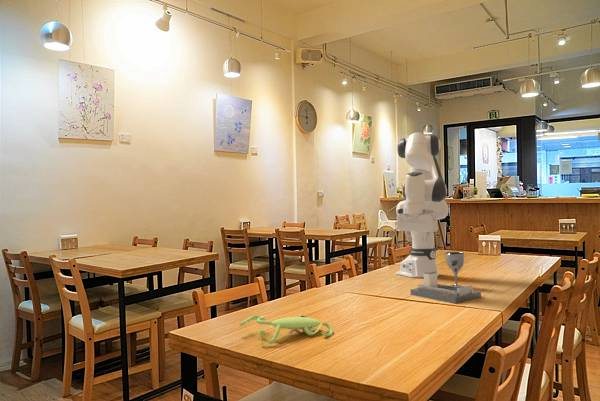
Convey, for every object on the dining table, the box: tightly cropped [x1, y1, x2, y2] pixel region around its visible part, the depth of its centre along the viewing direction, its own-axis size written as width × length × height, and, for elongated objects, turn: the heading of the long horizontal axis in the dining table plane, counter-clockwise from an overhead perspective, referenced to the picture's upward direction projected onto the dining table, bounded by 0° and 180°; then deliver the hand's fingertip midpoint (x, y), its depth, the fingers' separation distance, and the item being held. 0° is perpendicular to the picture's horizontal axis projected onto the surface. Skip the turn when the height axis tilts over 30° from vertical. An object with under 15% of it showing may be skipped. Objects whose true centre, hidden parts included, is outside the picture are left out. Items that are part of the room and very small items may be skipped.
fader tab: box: [423, 271, 439, 288], centre depth 187 cm, size 3×5×7 cm, turn 124°
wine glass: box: [445, 251, 466, 287], centre depth 198 cm, size 8×8×15 cm
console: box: [410, 283, 482, 304], centre depth 181 cm, size 22×16×5 cm
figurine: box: [239, 315, 334, 346], centre depth 138 cm, size 18×27×6 cm
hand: (417, 241), depth 192 cm, fingers open, 7 cm apart
